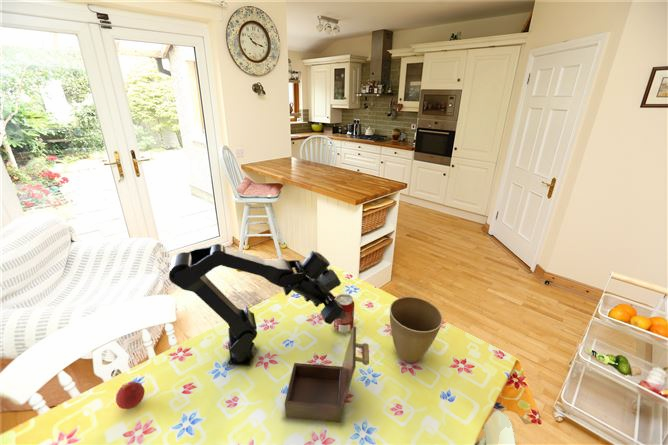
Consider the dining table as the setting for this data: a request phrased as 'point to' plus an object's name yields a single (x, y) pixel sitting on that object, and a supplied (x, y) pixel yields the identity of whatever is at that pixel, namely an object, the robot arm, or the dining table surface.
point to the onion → (130, 395)
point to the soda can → (348, 308)
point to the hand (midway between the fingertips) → (339, 307)
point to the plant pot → (413, 326)
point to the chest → (314, 393)
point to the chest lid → (351, 363)
